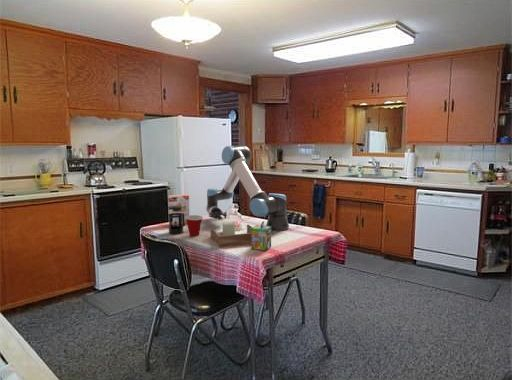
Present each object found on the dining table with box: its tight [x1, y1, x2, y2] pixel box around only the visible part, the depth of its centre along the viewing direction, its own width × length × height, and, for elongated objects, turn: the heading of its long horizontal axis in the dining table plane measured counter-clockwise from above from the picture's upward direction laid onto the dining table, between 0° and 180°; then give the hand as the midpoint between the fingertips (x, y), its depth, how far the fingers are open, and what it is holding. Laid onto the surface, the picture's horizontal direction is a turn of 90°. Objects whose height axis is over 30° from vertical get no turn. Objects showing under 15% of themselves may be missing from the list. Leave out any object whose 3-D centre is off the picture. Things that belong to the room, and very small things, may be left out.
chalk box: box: [251, 220, 272, 252], centre depth 198 cm, size 9×9×15 cm
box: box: [210, 224, 254, 248], centre depth 215 cm, size 22×24×6 cm
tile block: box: [221, 219, 236, 236], centre depth 228 cm, size 14×7×8 cm, turn 6°
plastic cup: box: [185, 214, 204, 238], centre depth 225 cm, size 11×11×12 cm
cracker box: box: [167, 194, 190, 226], centre depth 254 cm, size 14×6×21 cm, turn 104°
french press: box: [167, 197, 186, 236], centre depth 233 cm, size 12×9×23 cm
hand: (223, 219), depth 237 cm, fingers closed
